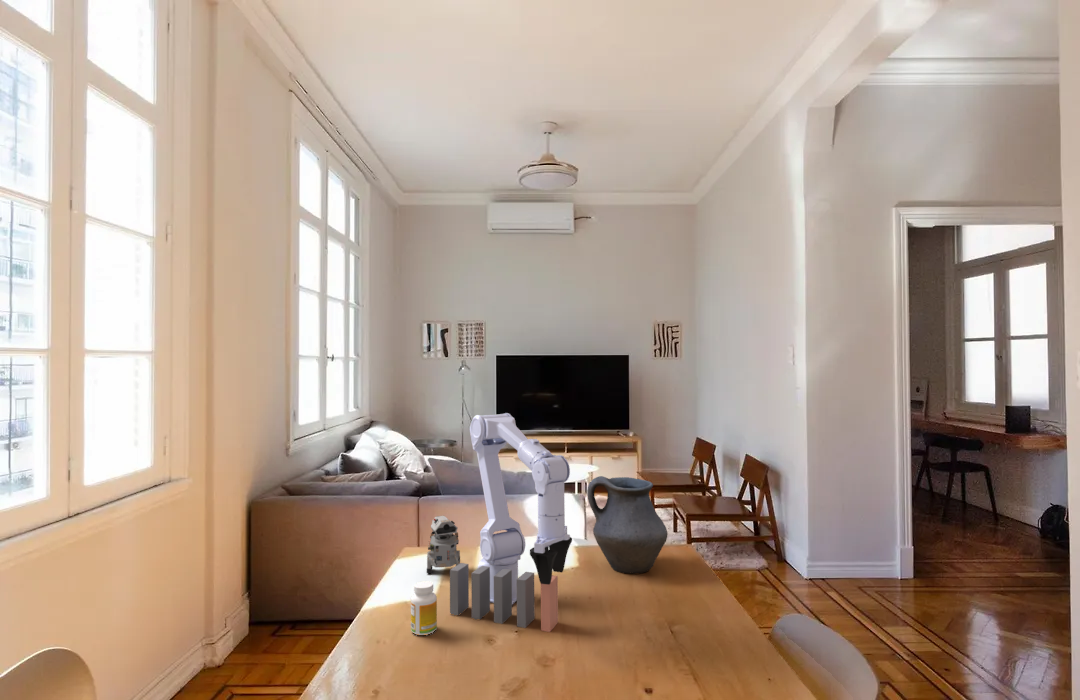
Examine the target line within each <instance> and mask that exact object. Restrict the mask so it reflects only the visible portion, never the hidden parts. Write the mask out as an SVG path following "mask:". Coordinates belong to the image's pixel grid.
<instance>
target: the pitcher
mask: <svg viewBox="0 0 1080 700" xmlns="http://www.w3.org/2000/svg"><path fill="white" fill-rule="evenodd" d="M597 487H604V488H605V489H606V491H607V496H606V498H607V499H606V502H605V505H604V507H603V508H601V507H599V506H598V504H597V500H596V497H595V490H596V488H597ZM653 487H654V484H653V482H651V481H648V480H645V479H640V478H635V477H627V476H626V477H625V476H624V477H623V476H622V477H619V476H618V477H610V478H608V477H606V476H603V475H600V476H596V477H594V478H593V479H592V480H590V482H589V484H588V485H587V490H586V495H587V500H588V504H589V506H590V509H591V511H592V513H593V515H594V517H595V523H594V526H593V529H592V532H593V536H594V539H595V541H596V543H597V545H598V546H599V548H600V550H601V552H602V553H603V555H604V557H605V559H606V560H607V562H608V564H609V565H610V567H611V568H612V570H613V571H615V572H619V573H622V574H635V573H639V574H643V573H647V572H649V571H650V570H651V569H652V568H653V567H654V564H655V562H656V560H657V559H658V556H659V555H660V552H662V549H663V548H664V545H665V543H666V542H667V540H668V534H669V533H668V529H667V527H666V525H665V523H664V521H663V519H662V518H661V517H660V516H659V514H658V513H657V511H656V510H655V508H654V505H653V503H652V500H651V497H650V492H651V490H652V488H653Z"/></svg>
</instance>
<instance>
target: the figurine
mask: <svg viewBox="0 0 1080 700" xmlns="http://www.w3.org/2000/svg"><path fill="white" fill-rule="evenodd" d="M431 521H432V522H431V525H430V529H431V530H432V531H431V533H430V534H429V536H430V537H429V538H430V539H429V541H428V544H427V550H428V551H427V554H426V555H427V556H426V558H427V559H426V566H427V567H426V574H427V573H431V574H432V572H433V567H434V568H450V567H452V566H453V567H454V566H457V565H458V564H460V563H461V551H460V550H457V545H459V541H460V540H459V532H458V526H456V524H455V522H454V521H453V520H450V519H448V517H446V516H445V515H437V516H434V518H433V519H432V520H431Z"/></svg>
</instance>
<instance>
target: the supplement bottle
mask: <svg viewBox="0 0 1080 700" xmlns="http://www.w3.org/2000/svg"><path fill="white" fill-rule="evenodd" d="M413 591H414V594H412V596H411V598H410V632H411V631H412V632H413V633H415V634H419V635H424V634H430V633H432V634H434V633H435V632H436V631H437V629H438V622H437V621H438V617H437V615H438V613H437V612H438V611H437V609H438V606H437V605H438V604H437V603H438V602H437V601H438V600H437V594H436V593H435V592H434V583H433V582H432V581H427V580H425V581H418V582H416V583H415V584H414V585H413ZM435 630H436V631H435ZM434 631H435V632H434ZM412 632H411V633H412ZM433 632H434V633H433ZM430 635H431V634H430Z"/></svg>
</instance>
